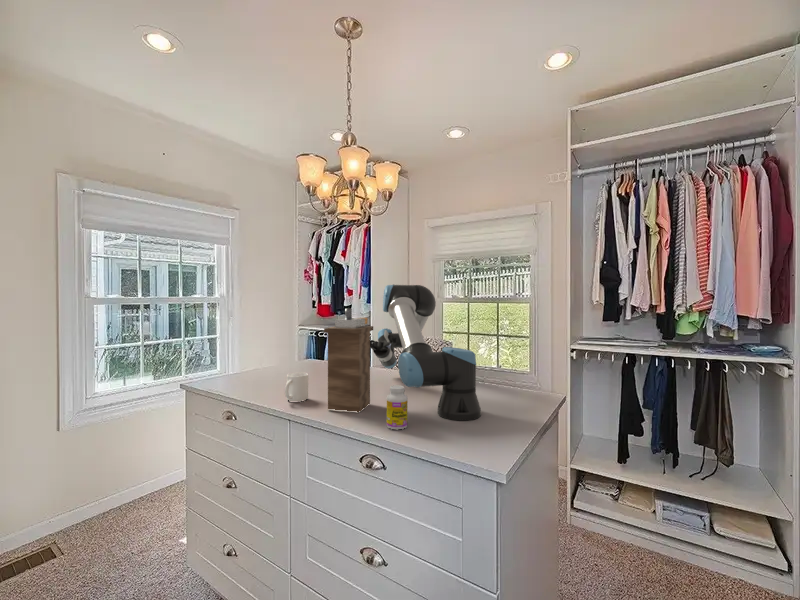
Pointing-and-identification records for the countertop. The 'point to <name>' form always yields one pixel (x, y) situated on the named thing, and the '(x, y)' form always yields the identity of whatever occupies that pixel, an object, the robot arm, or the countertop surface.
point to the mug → (297, 387)
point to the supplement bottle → (397, 408)
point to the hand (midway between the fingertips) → (370, 332)
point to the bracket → (350, 321)
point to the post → (348, 368)
